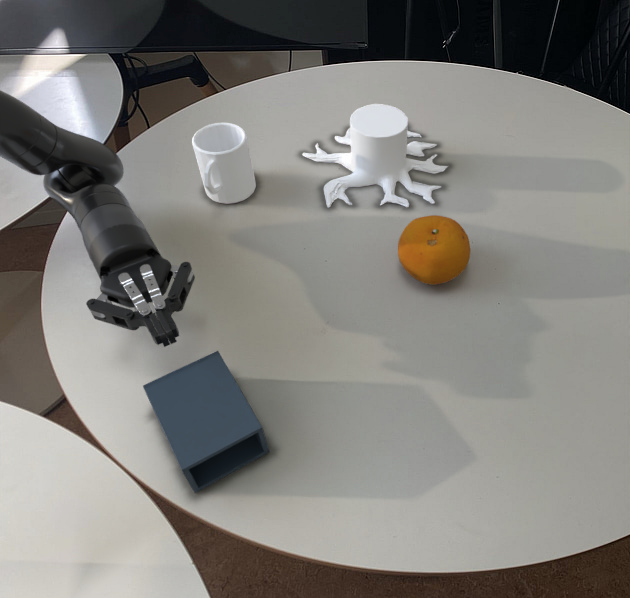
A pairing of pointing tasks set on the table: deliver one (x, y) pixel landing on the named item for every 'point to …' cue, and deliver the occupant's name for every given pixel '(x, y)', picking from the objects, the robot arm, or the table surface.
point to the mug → (224, 162)
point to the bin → (206, 420)
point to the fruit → (434, 249)
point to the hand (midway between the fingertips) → (169, 340)
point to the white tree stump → (378, 155)
